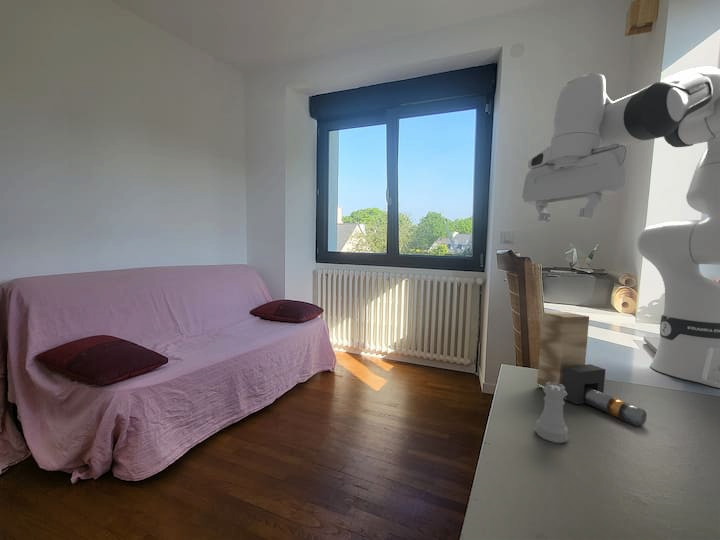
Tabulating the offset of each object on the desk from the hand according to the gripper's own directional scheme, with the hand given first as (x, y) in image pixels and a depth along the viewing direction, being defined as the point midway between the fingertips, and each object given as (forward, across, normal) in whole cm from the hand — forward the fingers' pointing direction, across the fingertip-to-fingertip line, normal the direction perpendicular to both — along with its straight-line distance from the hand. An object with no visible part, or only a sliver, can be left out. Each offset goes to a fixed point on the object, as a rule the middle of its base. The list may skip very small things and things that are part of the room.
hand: (563, 220), depth 71 cm
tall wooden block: (+36, -2, -3) cm, 36 cm away
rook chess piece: (+38, -15, +16) cm, 43 cm away
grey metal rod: (+36, -10, -2) cm, 37 cm away
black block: (+36, -8, -3) cm, 36 cm away
